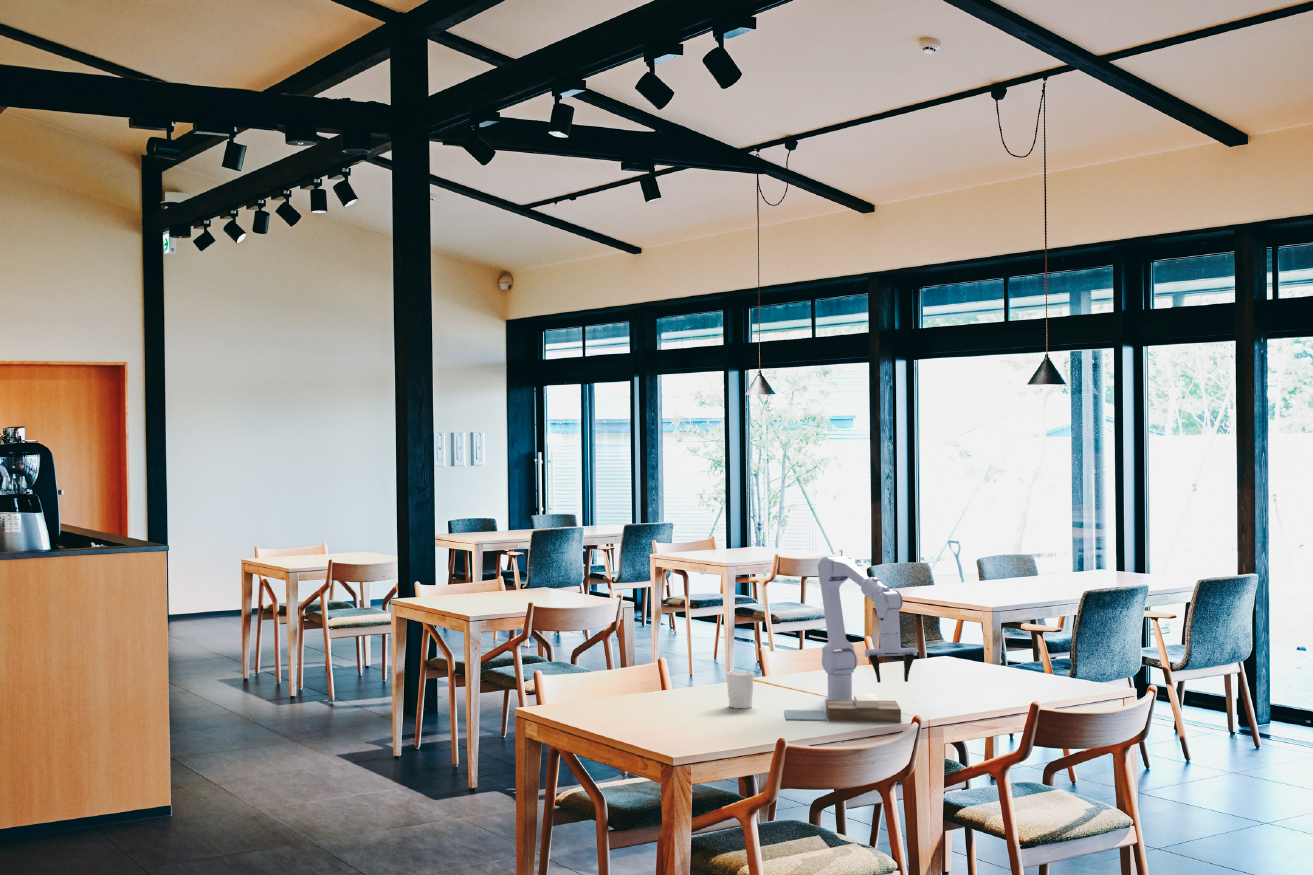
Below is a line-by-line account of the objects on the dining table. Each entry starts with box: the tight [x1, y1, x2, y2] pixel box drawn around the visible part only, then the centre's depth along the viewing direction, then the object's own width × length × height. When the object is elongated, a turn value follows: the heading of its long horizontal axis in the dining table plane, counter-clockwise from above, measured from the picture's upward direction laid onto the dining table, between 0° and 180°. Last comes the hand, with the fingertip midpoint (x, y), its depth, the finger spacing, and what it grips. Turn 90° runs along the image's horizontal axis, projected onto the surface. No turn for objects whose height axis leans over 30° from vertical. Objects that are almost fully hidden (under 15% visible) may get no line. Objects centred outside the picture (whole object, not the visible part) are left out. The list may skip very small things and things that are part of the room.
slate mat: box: [784, 709, 828, 722], centre depth 333 cm, size 12×12×1 cm
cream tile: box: [853, 693, 880, 708], centre depth 332 cm, size 9×6×2 cm, turn 175°
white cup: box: [726, 670, 754, 710], centre depth 347 cm, size 8×8×10 cm
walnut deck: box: [825, 699, 902, 723], centre depth 332 cm, size 12×20×4 cm, turn 85°
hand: (892, 681), depth 331 cm, fingers open, 7 cm apart
